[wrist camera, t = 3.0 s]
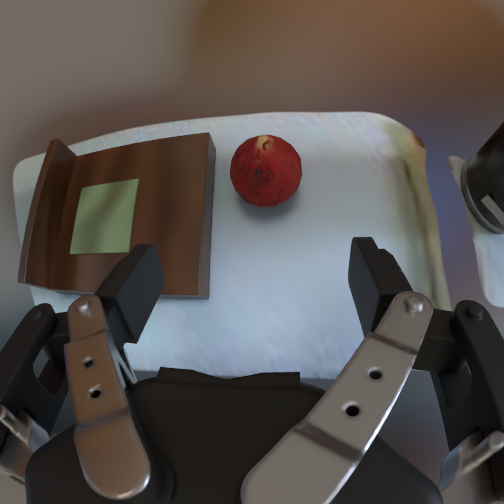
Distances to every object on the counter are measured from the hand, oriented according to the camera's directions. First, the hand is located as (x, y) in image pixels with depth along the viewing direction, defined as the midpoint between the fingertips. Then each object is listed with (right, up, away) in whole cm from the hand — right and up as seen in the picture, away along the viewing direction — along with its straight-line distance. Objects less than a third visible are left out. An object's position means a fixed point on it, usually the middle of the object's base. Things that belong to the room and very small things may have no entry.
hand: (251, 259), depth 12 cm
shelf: (-12, +3, +16) cm, 20 cm away
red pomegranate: (+2, +6, +15) cm, 16 cm away
